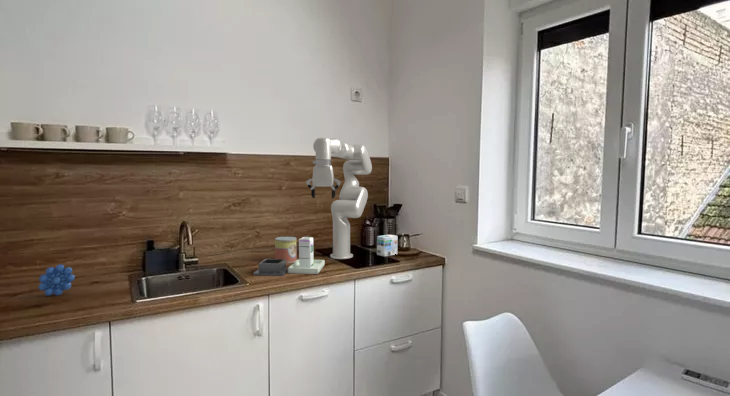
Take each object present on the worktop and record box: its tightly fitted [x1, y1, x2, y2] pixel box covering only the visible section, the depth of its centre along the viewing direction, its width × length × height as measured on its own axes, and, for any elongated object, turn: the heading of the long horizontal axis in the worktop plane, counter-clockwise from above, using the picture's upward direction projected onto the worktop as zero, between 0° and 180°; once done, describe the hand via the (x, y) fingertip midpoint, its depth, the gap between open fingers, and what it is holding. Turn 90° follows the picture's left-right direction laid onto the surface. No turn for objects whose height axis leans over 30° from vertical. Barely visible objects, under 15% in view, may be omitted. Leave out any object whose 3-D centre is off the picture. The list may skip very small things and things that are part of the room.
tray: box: [287, 258, 326, 275], centre depth 201 cm, size 18×14×2 cm
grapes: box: [38, 264, 76, 296], centre depth 158 cm, size 12×7×12 cm, turn 113°
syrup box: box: [298, 236, 315, 268], centre depth 200 cm, size 6×6×14 cm
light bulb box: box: [376, 234, 399, 257], centre depth 234 cm, size 11×7×11 cm, turn 131°
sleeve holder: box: [252, 258, 291, 277], centre depth 195 cm, size 14×14×5 cm
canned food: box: [274, 236, 298, 264], centre depth 217 cm, size 11×11×12 cm
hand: (323, 198), depth 203 cm, fingers open, 9 cm apart
